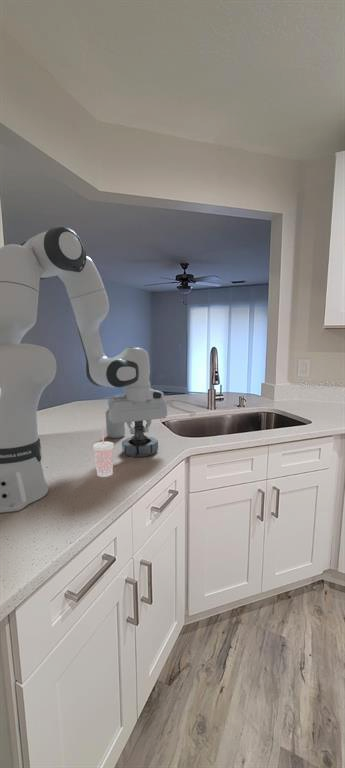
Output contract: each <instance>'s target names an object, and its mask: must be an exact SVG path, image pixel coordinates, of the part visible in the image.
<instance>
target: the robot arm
mask: <svg viewBox="0 0 345 768" xmlns="http://www.w3.org/2000/svg"><path fill="white" fill-rule="evenodd" d="M56 276H57V277H58V279H60V280H61V281H62V282H63V284H64V286H65V289H66V293H67V295H68V299H69V301H70V305H71V307H72V309H73V313H74V316H75V321H76V326H77V327H76V328H77V331H78V332H77V333H78V335H79V339H80V342H81V346H82V350H83V353H84V356H85V362H86V364H85V365H86V366H85V373H86V376H87V379H88V381H89V382H90V383H91V384H92V385H94V386H96V387H107V388H108V387H109V388H115V389H120V388H124V394H123V395H113V396H111V397H110V398H109V399H108V401H107V405H108V407H107V408H110V412H109V420H110V421H111V422H112V423H113V424H115V423H126V425H127V427H128V428H129V433H130V435H134V434H135V428H134V427H132V423H133V422H134V423H135V421H143V422H144V421H145V422H146V424H145V426H144V428H143V433H144V434H146V433H149V428H150V427H151V424H152V420H159V419H160V420H161V419H166V417H167V416H168V408H167V407H168V406H167V402H166V399H164V398H165V394H164V392H163V391H161V390H157V389H155V388H151V382H150V375H151V365H150V364H151V363H150V355H149V352H148V351H147V350H146V349H145V348H141V347H137V346H136V347H135V346H127V347H125V349H124V350H123V351H122V352H121V353H119V354H117V355H116V356H113V357H108V356H107V355H106V354H105V352H104V349H103V344H102V340H101V338H100V331H99V330H100V326H101V324H102V322H103V321H104V320H105V319H106V318H107V316H108V314H109V311H110V302H109V297H108V294H107V293H108V292H106V291H107V290H106V288H105V285H104V282H103V280H102V276H101V274H100V273H99V271H98V269H97V267H96V265H95V263H94V261H93V260H92V258H91V257H90V256H87V253H86V250H85V247H84V244H83V243H82V240H81V239H80V237H79V236H78V235H77V233H76V232H75V231H74V230H73V229H71V228H69V227H66V226H57V227H56V226H55V227H52V228H50V229H49V230H46V231H43V232H41V233H37V234H35V235H34V236H32V237H30V239H28V240H26V241H24V242H22V243H21V244H15V243H11V244H10V243H9V244H5V245H3V246H1V248H0V513H10V512H11V513H12V512H18V511H20V510H23V509H24V508H25V507H27V506H29V505H30V504H32V503H34V502H37V501H38V500H40V499H42V498H43V497H44V496H46V495H47V494H48V492H49V486H48V484H47V481H46V478H45V475H44V471H43V466H42V462H41V460H42V457H43V455H42V445H41V439H40V438H39V433H38V406H39V403H40V399H41V397H42V394H43V391H44V390H45V388H46V387H48V385H50V384H51V383H52V382H53V381H54V379H55V377H56V374H57V367H58V366H57V361H56V358H55V357H56V356H55V355H54V354H53V352H52V351H51V350H50V349H49V348H47V347H44V346H41V345H37V344H33V343H32V344H31V343H21V341H22V340H23V338H24V337H25V335H26V334H27V332H29V331H30V330H31V329H32V328H33V327H34V326H35V325H36V322H37V319H38V318H37V317H38V316H37V315H38V305H39V292H40V281H41V280H44V279H47V278H50V277H56Z"/></svg>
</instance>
